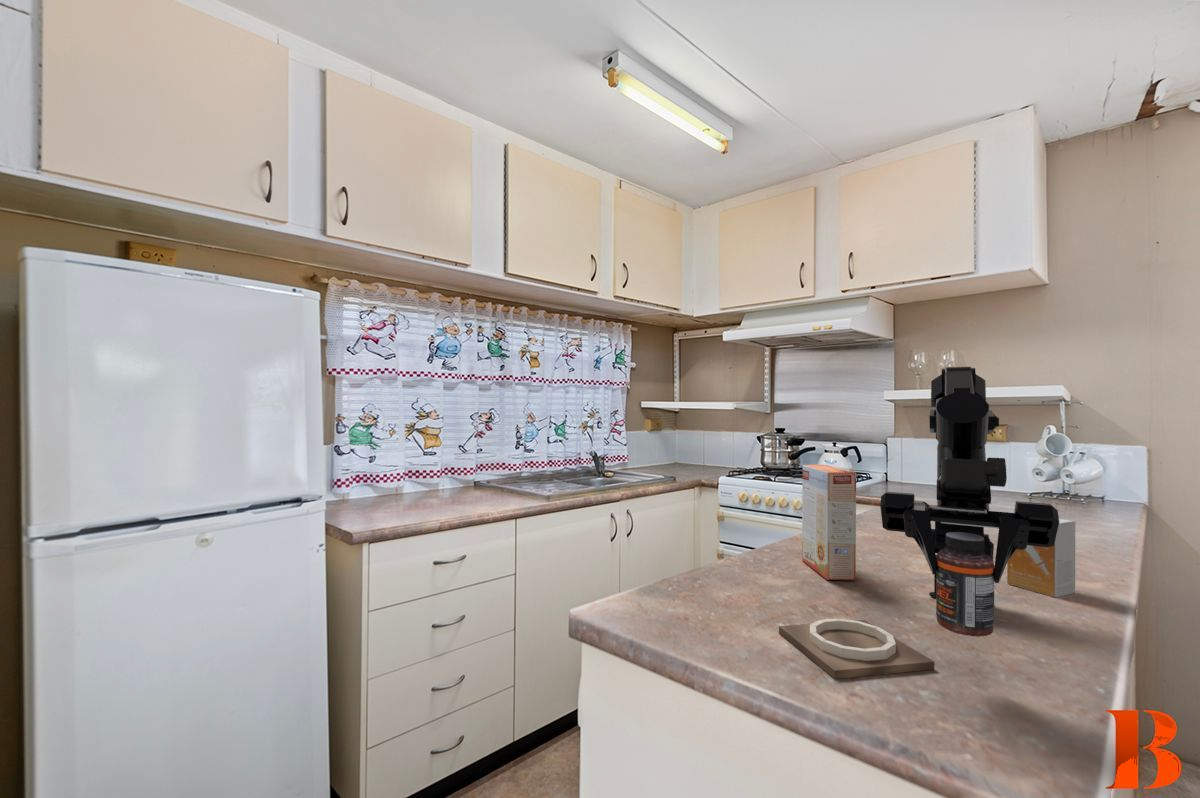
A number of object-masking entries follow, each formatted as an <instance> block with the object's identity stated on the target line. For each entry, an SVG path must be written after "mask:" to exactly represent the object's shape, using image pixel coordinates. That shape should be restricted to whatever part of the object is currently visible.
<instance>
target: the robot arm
mask: <svg viewBox="0 0 1200 798" xmlns="http://www.w3.org/2000/svg"><path fill="white" fill-rule="evenodd" d="M986 386H987V385H986V380H985V379H984V378H983V377H981V376H980V375H978V374H976V368H975V367H971V366H948V367H945V368H941V374H940V375H938V376H937V377H935V378H933V380H931V382H930V403H931V405H930V406H931V408H935V409H930V410H929V415H928V417H929V418H928V419H929V432H930V433H932V434H933V433H935V440H936V441H937V442H938V444H937V447H936V451H937V453H936V462H937V464H936V471H937V473H936V475H937V476H936V477H937V478H936V504H928V503H927V502H925V501H923V500H916V499H915V498H916V497H915V494H914V493H911V492H909V493H908V492H898V491H897V492H896V491H895V492H894V491H885V492H884V493H883V494H882V495H881V496H880V507H879V508H880V514H881V524H882V529H884V530H886V531H889V532H899V533H904V535H905V536H906V537H907V538H910V539H911V538H912V539H913V540H914V541H915V542H916V544H917V546H918V547H919V548H920V550H921V552H922V554H923V556H924V558H925V560H926V563H927V564H928V567H929V569H930V572H931V574H932V575H933V577H934V578H933V582H934V583H933V585H934V591H931V592H929V596H930V597H932V598H935V599H936V558H937V553H938V552H939V551H940V550H942V549H944V548H945V546H946V544H945V540H946V533H950V532H964V533H971V534H976V535H979V536H982V537H983V538H984V543H985V549H984V552H985V553H986V554H987V555H989V556H990V557H991V558H992V560H993V561H994V584H999V583H1000V582H1001V578H1002V576H1003V573H1004V571H1005V568H1007V567H1006V566H1007V562H1008V560H1009V559H1010V558H1011V556H1012V555H1013V553H1014V552H1015V551H1016V550H1017V549H1019V550H1023V549H1026V548H1027V545H1030V546H1040V547H1051V546H1054V544H1055V539H1056V535H1057V530H1058V526H1059V519H1060V518H1059V511H1058V509H1057V508H1056V507H1054V505H1052V504H1051V503H1044V502H1033V501H1031V502H1030V501H1019V500H1018V501H1017V500H1016V501H1015V502H1014V503H1015V505H1014V510H1013V511H1014V512H1008V511H1007V512H1006V511H996V510H995V511H993V510H990V504H992V493H991V492H992V491H991V487H1003V488H1004V487H1006V483H1007V479H1008V478H1007V477H1008V476H1007V464H1006V458H1005V457H987V456H986V455H987V453H986V444H987V442H988V435H993V433H994V430H995V429H996V428H997V427H999V426H1000V417H998V416H996V415H995V413H994V412H993V410H992V409H990V404H989V403H988V402H987V391H986V390H987V389H986ZM931 522H934V528H932V523H931ZM985 528H986V529H987V528H989V529H998V534H997V541H996V549H994V548H995V544H994V543H993V542H992V541H991V538H990V537H989V536H990V535H989V534H987V533H985ZM995 550H996V552H995ZM994 552H995V558H994ZM994 559H995V560H994Z"/></svg>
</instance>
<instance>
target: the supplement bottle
mask: <svg viewBox="0 0 1200 798" xmlns="http://www.w3.org/2000/svg"><path fill="white" fill-rule="evenodd" d="M945 544H946V546H945V548H944V549H942V550H940V551H939V552H938V553H936V555H937V558H936V598H935V600H936V601H935V602H936V604H935V605H936V606H935V609H936V610H935V611H936V613H935V616H936V622H937V623H938V624H939V625H940V627H941V628H943V629H945V630H947V631H949V632H952V633H954V634H956V635H957V634H958V635H963V636H968V637H969V636H970V637H977V638H979V637H988V636H991V635H992V634H993V632H994V631H995V581H994V566H995V560H994V559H993V560H992V558H991V557H990V556H989V555H987V554H986V553H985V552H984V549H985V543H984V538H983V537H982V536H979V535H976V534H971V533H964V532H950V533H946V540H945Z"/></svg>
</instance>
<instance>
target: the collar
mask: <svg viewBox="0 0 1200 798" xmlns="http://www.w3.org/2000/svg"><path fill="white" fill-rule="evenodd" d="M809 624H810V641H811V642H812V643H813V644H814V645H816V646H817V647H818V648H820V649H821V650H823V651H826V652H829V653H831V654H834V655H837V656H840V657H843V658H850V659H857V660H864V661H870V660H881V659H887V658H889V657H890V656H892V655H893V654H895V653H896V643H895V641H894V638H895V637H894V636H893V634H891V633H889V632H887V631H886V630H885V629H883V628H881V627H879V626H876V625H874V624H872V625H870V624H871V623H870V624H867V623H863V622H860V621H855V620H852V619H851V620H850V619H846V618H845V619H844V618H828V619H826V618H825V619H819V620H817V621H815V622H812V623H809ZM873 625H874V626H873ZM833 629H843V630H851V631H858V632H861V633H865V634H868V635H871V636H874V637H876V638H878V639H879V640H881V641H882V642H884V643H886V644H885V645H883V646H882V647H877V648H865V649H863V648H856V647H849V646H843V645H840V644H837V643H834V642H831V641H828V640H826V639H824V638H823V637H822V636H820V635H819V634H818V633H820V632H822V631H824V630H833ZM893 637H894V638H893Z"/></svg>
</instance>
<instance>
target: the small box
mask: <svg viewBox="0 0 1200 798" xmlns="http://www.w3.org/2000/svg"><path fill="white" fill-rule="evenodd" d="M1006 566H1007V567H1006V573H1007V575H1006V580H1007V581H1006V584H1007V585H1009V586H1015V587H1018V588H1022V589H1025V590H1027V591H1028V590H1029V591H1032V592H1035V593H1039V594H1042V595H1045V596H1049V597H1051V598H1060V597H1063V596H1067V595H1068V596H1069V595H1072V594H1073V595H1074V594H1075V593H1076V521H1075V520H1070V519H1063V518H1059V526H1058V530H1057V535H1056V539H1055V544H1054V546H1051V547H1040V546H1030V545H1027V548H1026V549H1023V550H1019V549H1017V550H1016V551H1015V552H1014V553H1013V555H1012V556H1011V558H1010V559H1009V560H1008V562H1007V564H1006Z"/></svg>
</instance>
